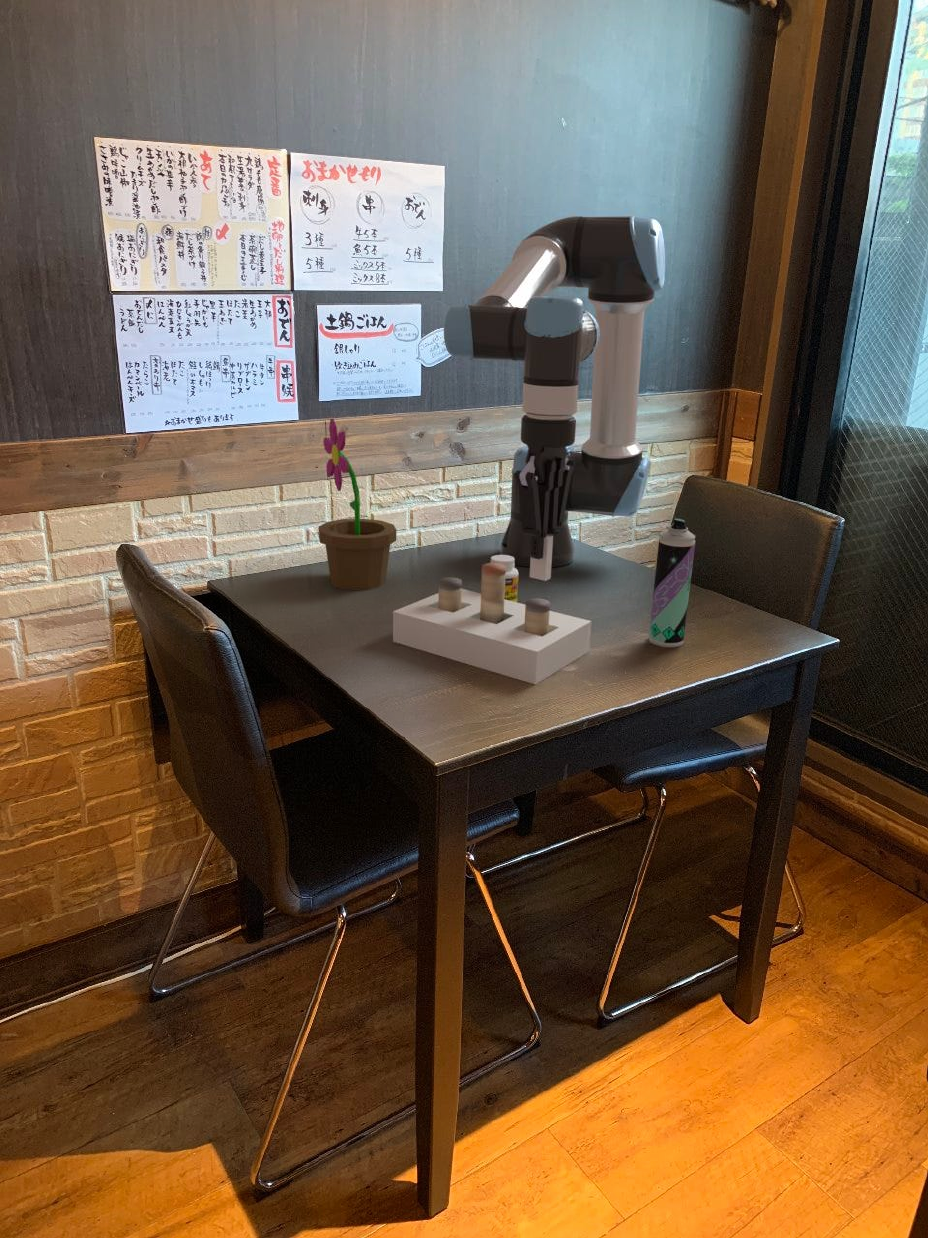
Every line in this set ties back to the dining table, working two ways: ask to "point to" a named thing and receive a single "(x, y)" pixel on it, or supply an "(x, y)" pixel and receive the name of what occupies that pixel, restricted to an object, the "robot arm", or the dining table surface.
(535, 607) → the plug
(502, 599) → the plug
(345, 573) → the flowerpot
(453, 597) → the plug
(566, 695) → the dining table surface
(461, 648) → the socket board
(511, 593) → the supplement bottle
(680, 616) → the spray can
